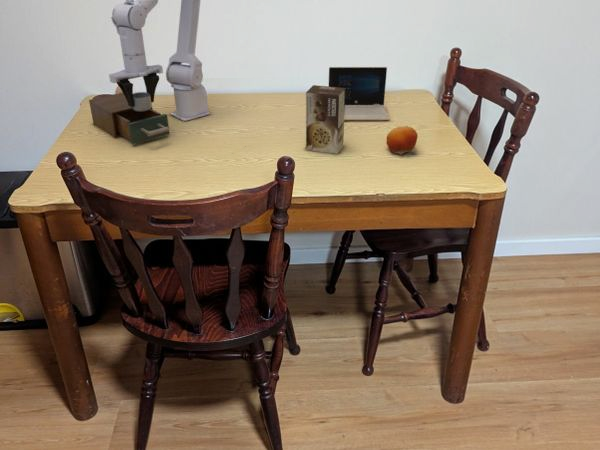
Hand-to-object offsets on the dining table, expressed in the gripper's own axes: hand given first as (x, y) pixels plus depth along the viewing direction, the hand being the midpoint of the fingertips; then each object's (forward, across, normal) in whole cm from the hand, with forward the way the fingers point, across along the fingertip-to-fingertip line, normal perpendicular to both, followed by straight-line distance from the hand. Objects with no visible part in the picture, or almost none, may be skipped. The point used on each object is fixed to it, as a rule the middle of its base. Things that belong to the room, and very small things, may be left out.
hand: (141, 103), depth 153 cm
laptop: (+10, +58, -27) cm, 65 cm away
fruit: (+10, +46, -54) cm, 72 cm away
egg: (+10, +8, +29) cm, 32 cm away
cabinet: (+10, 0, +12) cm, 16 cm away
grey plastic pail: (+1, 0, 0) cm, 1 cm away
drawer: (+9, -1, 0) cm, 9 cm away
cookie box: (+10, +32, -39) cm, 52 cm away
